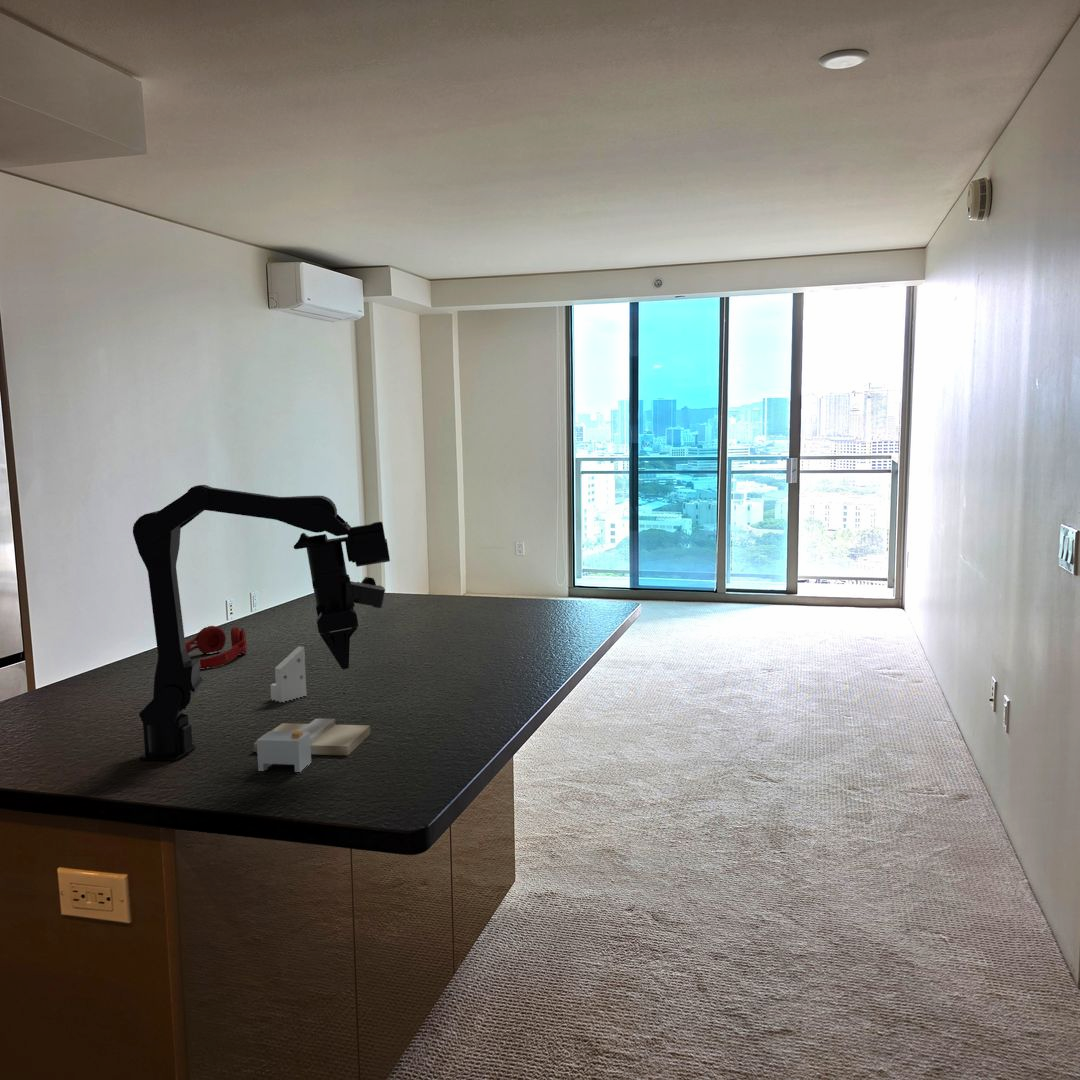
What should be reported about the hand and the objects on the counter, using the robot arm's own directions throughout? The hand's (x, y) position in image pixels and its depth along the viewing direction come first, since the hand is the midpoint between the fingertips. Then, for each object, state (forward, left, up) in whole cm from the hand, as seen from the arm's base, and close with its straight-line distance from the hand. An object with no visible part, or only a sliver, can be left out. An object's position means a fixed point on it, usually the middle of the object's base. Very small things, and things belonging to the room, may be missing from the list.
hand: (344, 662), depth 151 cm
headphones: (-55, +55, -14) cm, 79 cm away
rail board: (-6, -1, -14) cm, 15 cm away
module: (-5, -13, -14) cm, 19 cm away
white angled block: (-22, +25, -14) cm, 36 cm away
